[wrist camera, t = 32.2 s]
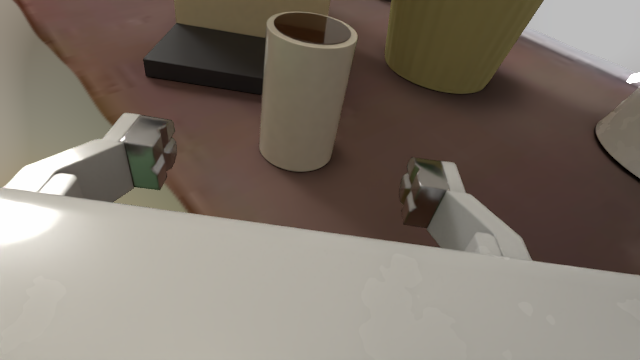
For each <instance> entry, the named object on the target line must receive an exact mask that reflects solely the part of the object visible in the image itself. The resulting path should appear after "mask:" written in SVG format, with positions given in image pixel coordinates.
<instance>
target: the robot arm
mask: <svg viewBox="0 0 640 360" xmlns="http://www.w3.org/2000/svg"><path fill="white" fill-rule="evenodd" d="M638 81H640V73H636V74H632V75H631V76H630V77H629V79H628V80H627V81H626V82H628V83H633V82H638ZM174 132H175V128H174V122H173V121H172V120H168V119H162V118H157V117H151V116H145V115H139V114H133V113H123V114H122V115H121V117H120V118H119V119H118V120H117V122H116V123H115V124H114V125H113V126H112V128H111V129H110V130H109V131H108V132H107V134H106V135H105V136H104V137H103V138H102V139H95V140H92V141H90V142H87V143H85V144H82V145H79V146H77V147H74V148H72V149H69V150H66V151H64V152H61V153H59V154H56V155H53V156H51V157H48V158H45V159H43V160H40V161H37V162H35V163H32V164H30V165H27V166H24V167H23V168H22V169H21V170H20V171H19V172H18V173H17V174H16V175H15V176H14V177H13V178H12V179H11V180H10V181H9V182H8V183H7V184H6V185H5V186H4V187H0V360H640V275H633V274H626V273H619V272H611V271H604V270H597V269H589V268H582V267H575V266H567V265H560V264H553V263H545V262H538V261H532V259H531V257H530V255H529V252H528V250H527V248H526V246H525V243H524V241H523V239H522V237H521V236H519V235H518V234H517V233H516V232H515V231H513V230H512V229H511V228H510V227H509V226H507V225H506V224H505V223H504V222H503V221H502V220H500V219H499V218H498V217H497V216H496V215H494V214H493V213H492V212H491V211H490V210H489V209H487V208H486V207H485V206H484V205H483V204H481V203H480V202H479V201H478V200H477V199H476V198H474V197H473V196H472V195H471V194H467V193H466V192H465V189H464V186H463V183H462V180H461V178H460V175H459V172H458V169H457V166H456V164H455V163H454V162H446V161H435V160H428V159H421V158H414V157H411V159H410V160H409V162H408V165H407V170H408V173H407V174H405V175H404V176H403V177H402V180H401V183H400V189H399V199H400V202H401V203H402V204H403V207H402V210H401V212H402V218H403V225H409V226H415V227H421V228H427V230H428V232H429V233H430V234H431V235H432V237H433V238H434V239H435V241H436V242H437V243H438V244H439V246H440V247H441V248H437V247H430V246H423V245H416V244H408V243H401V242H394V241H387V240H379V239H372V238H365V237H358V236H350V235H343V234H336V233H329V232H322V231H314V230H307V229H300V228H293V227H285V226H278V225H271V224H264V223H257V222H249V221H242V220H235V219H228V218H220V217H213V216H206V215H199V214H192V213H184V212H177V211H170V210H163V209H155V208H148V207H141V206H133V205H127V204H119V203H112V202H114V201H115V200H117V199H118V198H120V197H121V196H123V195H125V194H126V193H128V192H129V191H131V190H132V189H133V188H134V187H138V188H146V189H155V190H160V189H161V187H162V186H163V184H164V182H165V180H166V178H167V172H166V171H168V170H169V169H171V168H172V167H173V165H174V163H175V159H176V155H177V145H176V141H175V140H174V139H173V138H172V135H173V134H174ZM596 134H597V137H598V139H599V141H600V143H601V144H602V146H603V147H604V148H605V149H606V150H607V152H608V153H609V154H610V155H611V156H612V157H613V158H614V159H615V160H617V161H618V162H619V163H620V164H621V165H622V166H624V167H625V168H626V169H627V170H629V171H630V172H631V173H633V174H634V175H636V176H637V177H638V178H640V87H639V88H638V89H637V90H636V91H634V92H633V93H632V94H631V95H630V96H629V97H628V98H627V99H626V100H624V101H622V102H621V103H620V104H619V105H618V107H617V108H616V109H615V110H613V111H612V112H611V113H610V114H608V115H607V116H606V117H605V118H603V119H602V120H601V121H599V122H598V123H597V125H596Z"/></svg>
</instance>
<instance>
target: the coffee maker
mask: <svg viewBox="0 0 640 360" xmlns="http://www.w3.org/2000/svg"><path fill="white" fill-rule="evenodd" d="M174 3H175V14H176V24H175V25H174V26H173V27H172V29H171V30H170V31H169V32H168V33H167V34H166V35H165V36H164V37H163V38H162V39H161V40H160V41H159V43H158V44H157V45H156V46H155V47H154V48H153V49H152V50H151V51H150V52H149V53H148V54H147V55H146V57H145V58H144V59H143V61H144V67H145V74H146V76H149V77H155V78H161V79H168V80H174V81H180V82H186V83H193V84H199V85H205V86H211V87H218V88H224V89H230V90H236V91H243V92H249V93H255V94H261V95H262V86H263V69H264V53H265V36H266V23H267V20H268V19H269V18H270V17H271V16H273V15H275V14H278V13H283V12H294V11H296V12H310V13H317V14H321V15H325V16H328V11H329V5H330V0H174Z"/></svg>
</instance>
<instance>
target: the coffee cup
mask: <svg viewBox="0 0 640 360" xmlns="http://www.w3.org/2000/svg"><path fill="white" fill-rule="evenodd" d="M357 39H358V36H357V33H356V31H355V30H354V29H353V28H352V27H350V26H349V25H348V24H346V23H344V22H342V21H340V20H337V19H335V18H332V17H329V16H325V15H321V14H317V13H310V12H296V11H294V12H283V13H278V14H275V15H273V16H271V17H270V18H269V19H268V20H267V23H266V36H265V53H264V69H263V86H262V102H261V119H260V136H259V149H260V152H261V154H262V155H263V157H264V158H265V159H266V160H267V161H269V162H270V163H272V164H273V165H275V166H277V167H279V168H282V169H285V170H290V171H297V172H304V171H312V170H316V169H319V168H321V167H323V166H324V165H326V164H327V163H328V162H329V160H330V159H331V157H332V153H333V148H334V144H335V139H336V135H337V130H338V126H339V121H340V116H341V112H342V107H343V103H344V98H345V94H346V89H347V85H348V80H349V76H350V71H351V67H352V62H353V57H354V53H355V48H356V44H357Z"/></svg>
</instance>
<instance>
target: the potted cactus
mask: <svg viewBox="0 0 640 360" xmlns="http://www.w3.org/2000/svg"><path fill="white" fill-rule="evenodd" d="M543 1H544V0H391V8H390V16H389V24H388V32H387V39H386V47H385V60H386V63H387V64H388V66H389V67H390V68H391V69H392V70H393V71H394V72H396V73H397V74H398V75H400V76H401V77H403V78H405V79H407V80H409V81H411V82H413V83H415V84H417V85H420V86H423V87H426V88H429V89H433V90H437V91H441V92H447V93H456V94H467V93H474V92H478V91H480V90H482V89H483V88H484V87H485V86H486V84H487V83H489V81H490V80H491V78H492V77H493V75H494V74H495V72H496V71H497V69H498V68H499V66H500V65H501V63H502V62H503V60H504V59H505V57H506V56H507V54H508V53H509V51H510V50H511V48H512V47H513V45H514V44H515V42H516V41H517V39H518V38H519V36H520V35H521V33H522V32H523V30H524V29H525V27H526V26H527V24H528V23H529V21H530V20H531V19H532V17H533V16H534V14H535V12H536V11H537V10H538V8H539V7H540V5H541V4H542V2H543Z"/></svg>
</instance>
